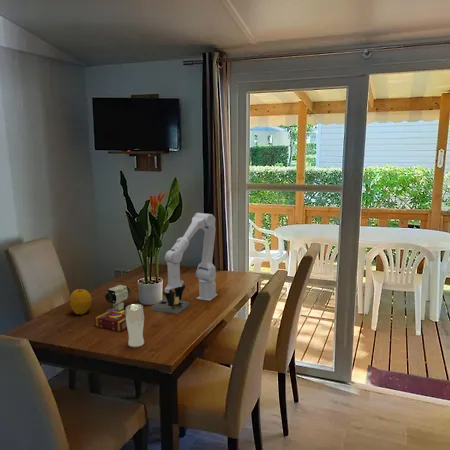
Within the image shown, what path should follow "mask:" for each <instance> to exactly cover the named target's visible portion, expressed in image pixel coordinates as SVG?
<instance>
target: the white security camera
mask: <svg viewBox="0 0 450 450" xmlns="http://www.w3.org/2000/svg"><path fill="white" fill-rule="evenodd" d="M130 293H131V291H130V287H128V285H125V284H119V285H115V286H114V287H110V288H108V289H106V293H105V295H104V298H105V300H106V302H107V303H109V304H112V309H116V310H119V311H122V310H124V308H125V307H124V306H125V303H124V302H123V301H125V300H127V299H129V296H130Z"/></svg>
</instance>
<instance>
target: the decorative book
mask: <svg viewBox="0 0 450 450" xmlns="http://www.w3.org/2000/svg"><path fill="white" fill-rule="evenodd" d="M93 320H94V321H93V322H94V327H98V328H99V329H102V330H103V329H106V330H107V329H108V330H111V331H113V332H116V331H117V332H123V331H125V330H128V329H127V325H126V310H124V309H122V310H120V311H119V310H116V309H113V308H108V309H107V310H105V311H104V312H101V314H100V313H99V314H98V315H97V316H95V317H94V318H93Z"/></svg>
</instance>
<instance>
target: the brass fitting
mask: <svg viewBox="0 0 450 450" xmlns="http://www.w3.org/2000/svg"><path fill="white" fill-rule="evenodd" d="M178 306H179V296H178V295H176V294H175V295H174V303H173V306H172V307H178Z"/></svg>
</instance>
